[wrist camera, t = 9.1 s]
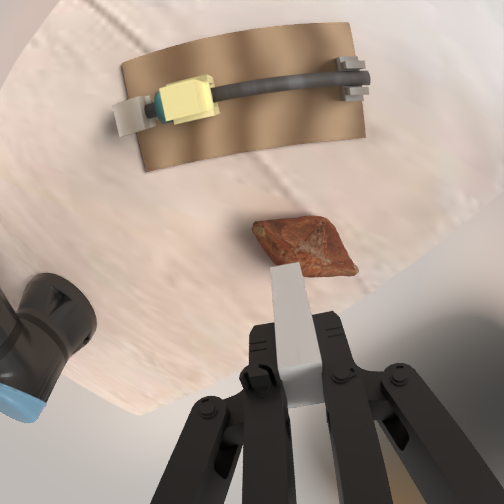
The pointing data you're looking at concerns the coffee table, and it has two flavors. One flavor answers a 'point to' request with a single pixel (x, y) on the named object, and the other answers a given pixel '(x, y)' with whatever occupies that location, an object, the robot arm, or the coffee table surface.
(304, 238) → the fossil
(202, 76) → the yellow sliding block
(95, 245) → the coffee table surface
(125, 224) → the coffee table surface
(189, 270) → the coffee table surface
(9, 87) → the coffee table surface
